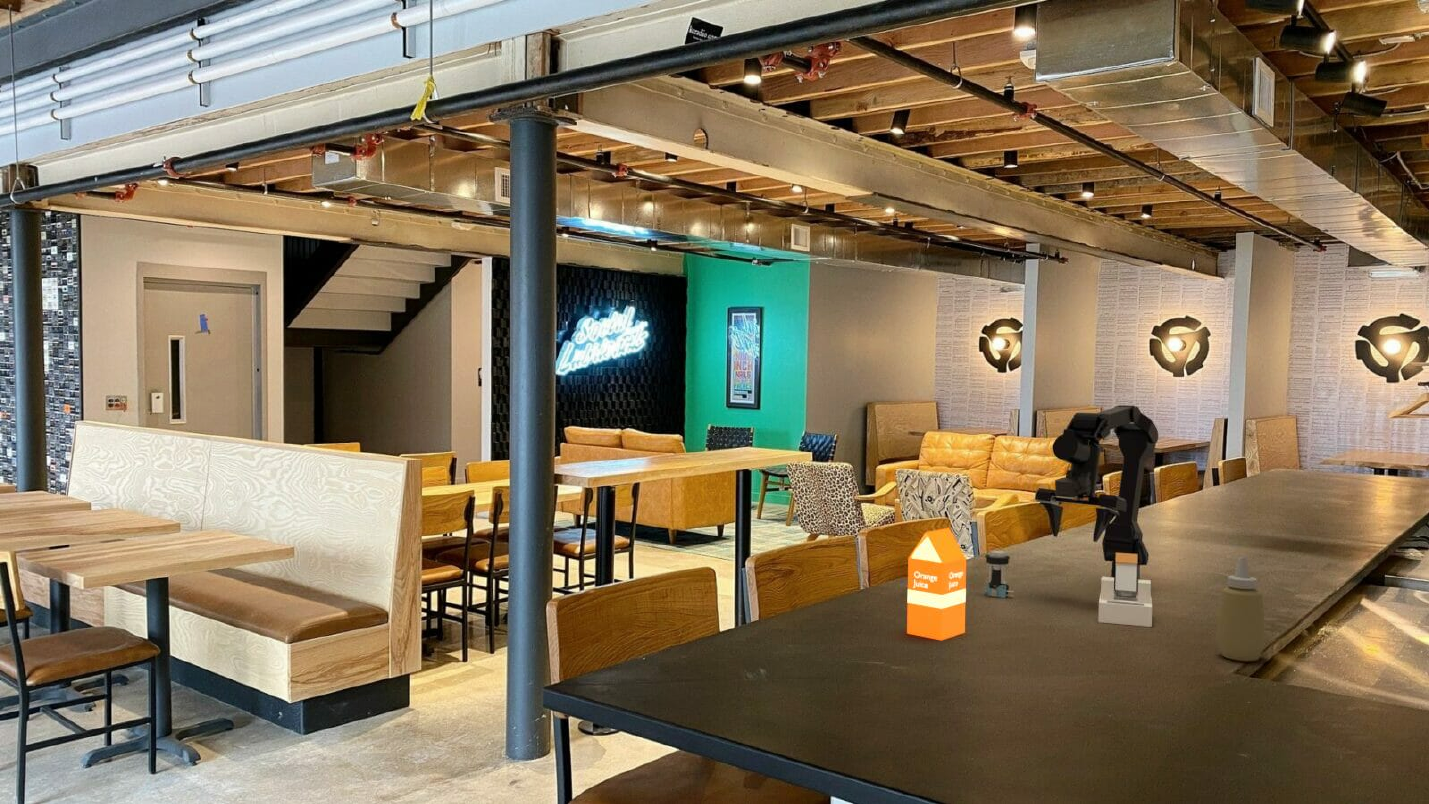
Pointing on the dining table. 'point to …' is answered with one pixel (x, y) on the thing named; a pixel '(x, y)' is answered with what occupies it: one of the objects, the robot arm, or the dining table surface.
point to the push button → (997, 574)
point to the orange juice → (936, 587)
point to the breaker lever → (1126, 575)
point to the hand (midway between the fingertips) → (1074, 539)
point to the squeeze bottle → (1241, 617)
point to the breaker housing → (1125, 605)
